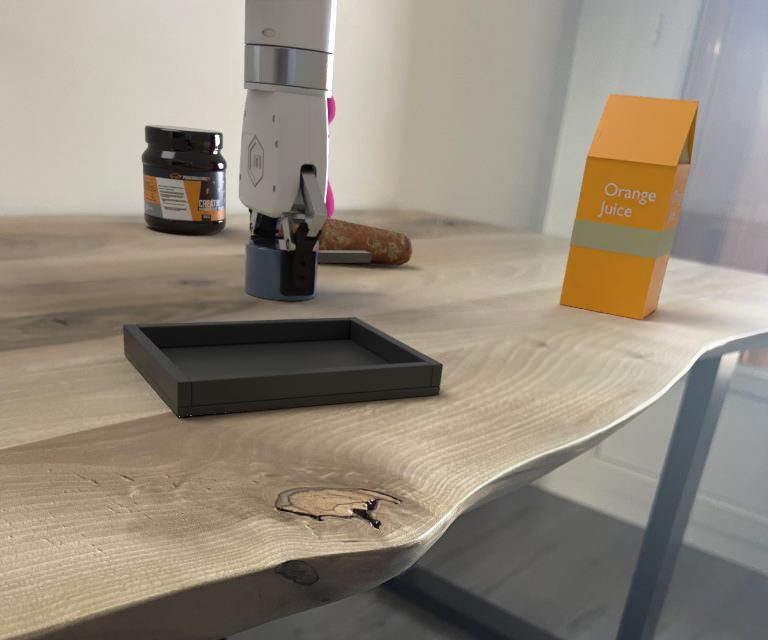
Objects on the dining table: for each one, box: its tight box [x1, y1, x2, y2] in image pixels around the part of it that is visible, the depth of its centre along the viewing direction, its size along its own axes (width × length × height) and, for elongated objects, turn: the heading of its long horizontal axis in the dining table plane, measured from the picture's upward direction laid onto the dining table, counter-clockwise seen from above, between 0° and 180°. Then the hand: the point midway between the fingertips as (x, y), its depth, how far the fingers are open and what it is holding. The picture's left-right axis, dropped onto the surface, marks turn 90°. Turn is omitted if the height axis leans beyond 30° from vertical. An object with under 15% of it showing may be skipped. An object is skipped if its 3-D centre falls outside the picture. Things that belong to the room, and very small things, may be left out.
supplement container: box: [141, 124, 228, 236], centre depth 104 cm, size 10×10×12 cm
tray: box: [122, 316, 444, 418], centre depth 54 cm, size 18×13×2 cm
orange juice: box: [558, 93, 700, 321], centre depth 83 cm, size 8×9×20 cm
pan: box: [243, 239, 371, 302], centre depth 78 cm, size 13×7×4 cm, turn 119°
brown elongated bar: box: [249, 211, 414, 266], centre depth 94 cm, size 6×19×6 cm, turn 96°
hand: (280, 284), depth 78 cm, fingers closed on pan, 6 cm apart
